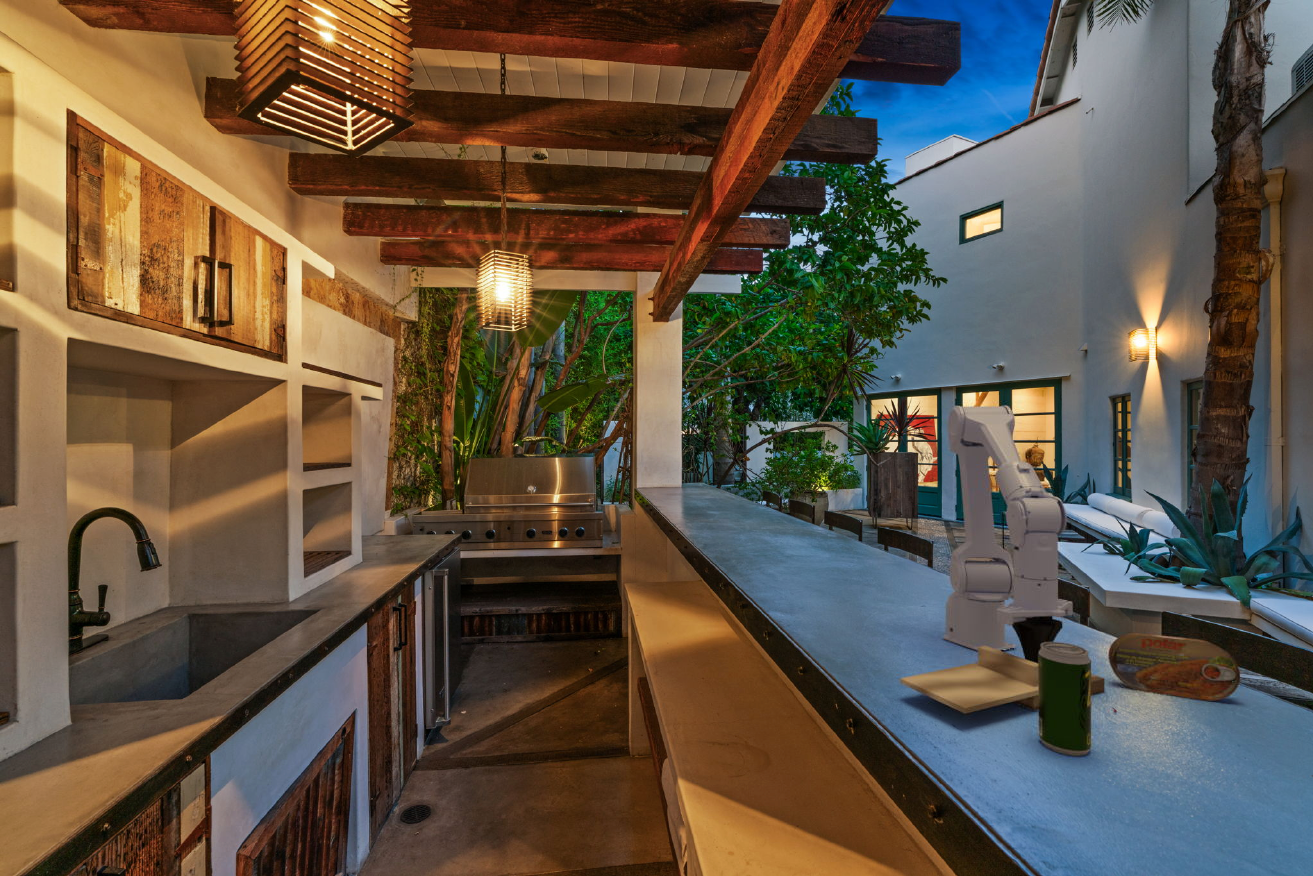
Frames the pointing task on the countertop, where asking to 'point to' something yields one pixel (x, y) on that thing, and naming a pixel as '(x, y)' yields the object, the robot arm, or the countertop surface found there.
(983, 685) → the cover plate
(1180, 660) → the tin
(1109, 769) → the countertop surface
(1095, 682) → the box
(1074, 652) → the beer can
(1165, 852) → the countertop surface
